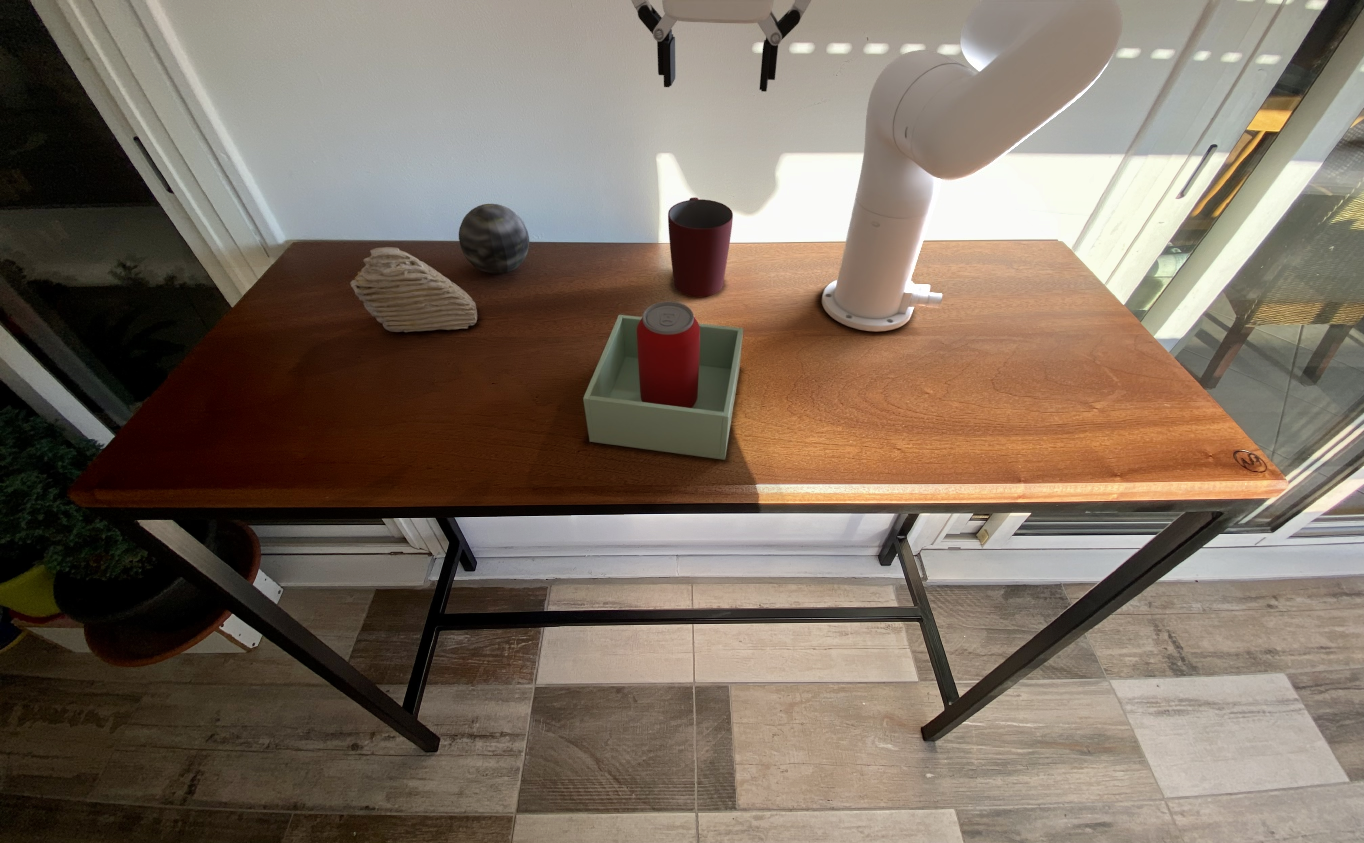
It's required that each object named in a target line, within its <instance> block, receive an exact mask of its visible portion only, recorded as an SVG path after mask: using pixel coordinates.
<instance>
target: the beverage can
mask: <svg viewBox="0 0 1364 843" xmlns="http://www.w3.org/2000/svg"><path fill="white" fill-rule="evenodd" d="M641 317H642V319H641V320H640V322H639V324H638V326H637V348H638V366H639V381H640V395H641V400H642V402H646V403H654V404H662V405H670V406H678V407H686V408H692V407H693V406H694V404H695V403H696V401H697V397H698V378H699V351H700V327H699V324H698V323H699V322H698V321H697V319H696V317H695V315H694V311H693V310H692V309H691V308H690V307H689V306H687V305H685V304H683V303H680V302H677V301H660V302H656V303H653V304H651V305H650V306H649V305H648V307H646V309H645V310H644V311H643V313H642V316H641Z"/></svg>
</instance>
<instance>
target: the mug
mask: <svg viewBox="0 0 1364 843" xmlns="http://www.w3.org/2000/svg"><path fill="white" fill-rule="evenodd" d="M733 218H734V213H733V211H732V209H731V208H730V207H729V206H727V205H726V204H724V203H722V202H719V201H717V200H711V199H699V198H698V197H690V198H689V199H688V200H687V199H686V200H683V201H680V202H677V203H675V204H673V205H672V206H671V207H670V208H669V210H668V213H667V225H668V239H669V249H670V260H671V270H672V280H673V287H674V288H675V289H676V290H677V292H679V293H681V294H682V295H686V296H688V297H693V298H704V297H711V296H713V295H715V294H718V293H719V292H720V291H721V290H722V289H723V287H724V281H725V275H726V268H727V263H728V256H729V252H730V251H729V249H730V243H731V237H732V230H733V229H732V228H733V220H734V219H733Z"/></svg>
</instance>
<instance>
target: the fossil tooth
mask: <svg viewBox="0 0 1364 843" xmlns="http://www.w3.org/2000/svg"><path fill="white" fill-rule="evenodd" d="M369 250H370V251H369V252H370V254H371V255H370V256H369V257H368V256H367V257H366V258H364V259H363V260H362V262H363V263H364V264H365V266H364V267H363V268H361V270H360V271H357V275H356V276H355V277H354V279H352V280H351V281H350V283H349V285H350V287H351V288H352V290H353V291H354V294H355V296H356V297H357V298H358V300H359V301H361V302H363V306H364V308H365V310H366V311H367V312H368V313H369V314H370V315H371V317H373V318H375V319H376V321H377V322H378V323H380V324H382V327H383V328H384V330H386V331H389V332H393V333H400V332H404V333H410V332H426V331H436V330H447V331H450V330H451V331H452V330H459V329H469V326H474V325H475V324H476V323H477V320H478V310H477V305H476V302H475V301H474V300H473V298H472V297H471V296H470V295H469V294H468V292H466V291H465V290H464V289H462V288H461V286H458V284H456V283H454V282H453V281H451V280H450V279H449V278H448V277H446V276H444V275H443V274H442V273H441V272H439V271H437V270H436V269H435V268H433V267H432V266H430V265H428V264H427V263H425V262H424V261H421V260H420V259H418V258H417V257H415V256H414V255H412V254H410V253H408V252H407V251H403V250H401V249H400V248H398V247H393V246H392V247H390V246H385V247H375V248H372V249H369Z"/></svg>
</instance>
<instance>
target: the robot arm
mask: <svg viewBox="0 0 1364 843" xmlns="http://www.w3.org/2000/svg"><path fill="white" fill-rule="evenodd" d="M630 1H631V4H632V5H633V7H634V9H635V10H636V12H637V17H638V19H639V20H640V21H641V23H642V24H643V25H644V26H645V27H646V28H647V30H648V31H649V32H650V33H651V34H652V37H653V40H654V41H656V48H657V51H656V52H657V53H656V54H657V74H658V76H663V87H664V88H670V87H672V86H673V83H674V82H675V80H676V37H675V36H674V34H673V27H674V26H675V25H676V23H677V21H678V22H685V23H708V24H710V23H712V24H744V25H745V24H757V25H758V26H759V28H760V30H761V31H762V32H763V34H764V36H765V39H764V40H763V45H762V53H761V65H760V78H759V91H761V92H762V93H763V92H765V93H766V92H767V91H768V84H769V81H775V80H776V74H777V73H776V72H777V65H778V64H777V62H778V52H779V45H780V44H781V43H782V41H783V40H784V38H786V37H787V36H788V35H789V34H790V33H791V32H792V31H793V30H794V29H795V27H797V26H798V25H799V23H800V22H801V19H802V18H803V15H804V14H805V13H806V11H807V9H808V7H809V6H810V4H811V2H812V0H793V3H792V5H791V7H790V8H789V10H787V12H785V14H784V15H783V16H782V17H781V18H780V19H778V18H777V16H776V15H775V13H774V12H773V7H774V2H775V0H661V2H662V10H663V12H664V14H663V16H661V15H660V13H659V12H658V11H657V10H656V9H655V8H654V6H653V5H652V4H651V3H650V0H630ZM1122 31H1123V14H1122V11H1121V8H1120V5H1119V3H1118V1H1117V0H978V1H977V3H976V4H974V6H973V7H972V8H971V10H970V11H969V13H968V14H967V15H966V17H965V20H964V22H963V25H962V27H961V30H960V36H959V41H960V42H959V43H960V49H961V52H962V54H963V56H964V58H965V60H966V61H967V62H968V63H969V64H970V66H972V67H974V68H975V69H976V71H978V72H976V71H974V70H973V69H970V68H969V67H968V66H966V65H964V64H962V63H960V62H958V61H956V60H954V59H953V58H951V57H949V56H947V55H945V54H943V53H940V52H937V51H934V50H928V49H927V50H926V49H918V50H911V51H908V52H905V53H903V54H900V55H899V56H897V57H896V58H894V59H893V60H891V61H890V63H888V64H887V65H886V66H885V68H884V69H883V70H882V71H881V72H880V74H879V75H878V76H877V78H876V79H875V82H874V84H873V86H872V89H871V92H870V95H869V98H868V102H867V107H866V114H865V115H866V117H865V129H864V130H865V131H864V132H865V133H864V147H863V148H864V149H863V156H862V163H861V170H860V175H859V180H858V184H857V188H856V193H855V197H854V202H853V206H852V210H851V216H850V220H849V225H848V229H847V233H846V234H847V235H846V239H845V243H844V248H843V251H842V256H841V261H840V266H839V270H838V274H837V278H836V280H833V281H831V282H829V284H827V285H826V287H825V288H824V289H823V291H822V296H821V304H822V307H823V309H824V311H825V312H826V313H827V314H828V316H830V317H831V318H832V319H834V320H835V321H837V322H838V323H840V324H841V325H844V326H846V327H849V328H851V329H852V328H853V329H855V330H860V331H866V332H887V331H893V330H896V329H899V328H901V327H902V326H904V325H905V324H907V323H908V322H909V321H910V319H911V318H912V315H913V310H914V308H916V307H917V306H923V307H926V308H927V307H928V308H936V309H937V308H939V309H940V308H941V305H942V302H943V294H942V293H939V292H938V293H937V292H930V291H931V285H930V284H922V283H920V284H918V283H916V284H915V283H914V282H913V281H912V276H913V273H914V271H915V267H916V264H917V261H918V258H919V254H920V251H921V248H922V245H923V242H924V239H925V236H926V233H927V230H928V226H929V224H930V221H931V217H932V214H933V211H934V208H935V205H936V202H937V199H938V196H939V192H940V187H941V183H942V181H950V182H953V181H960V180H965V179H968V178H970V177H972V176H975V175H976V174H978V173H980V172H982V171H983V170H985V169H987V168H988V167H990V166H991V165H992V164H994V163H995V162H997V161H998V160H999V159H1001V158H1002V157H1003V156H1005V155H1006V154H1008V153H1009V152H1010V151H1012V150H1013V149H1014V148H1015V147H1017V146H1018V145H1020V144H1021V143H1022V142H1024V141H1025V140H1026V139H1027V138H1028V137H1030V136H1031V135H1032V134H1033V133H1035V132H1036V131H1038V130H1039V129H1041V127H1043V126H1044V125H1046V124H1047V123H1048V122H1049V121H1051V120H1052V119H1054V118H1055V117H1056V116H1057V115H1059V114H1060V113H1061V112H1063V111H1064V110H1065V109H1067V108H1068V107H1069V106H1070V105H1071V104H1073V103H1074V102H1076V100H1077V99H1079V98H1080V97H1081V96H1082V95H1083V94H1085V92H1087V91H1088V89H1089V88H1091V87H1092V85H1093V84H1094V83H1095V82H1096V81H1097V80H1098V79H1099V77H1100V76H1101V74H1102V73H1103V72H1104V71H1105V69H1106V68H1107V67H1108V65H1109V63H1110V62H1111V60H1112V58H1113V57H1114V54H1115V52H1116V50H1117V48H1118V45H1119V42H1120V39H1121V36H1122V33H1123V32H1122Z"/></svg>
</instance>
